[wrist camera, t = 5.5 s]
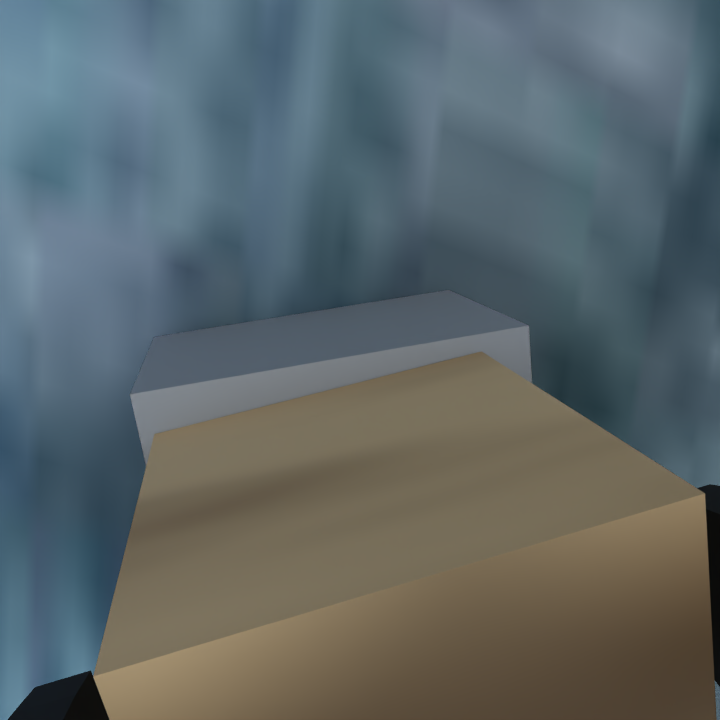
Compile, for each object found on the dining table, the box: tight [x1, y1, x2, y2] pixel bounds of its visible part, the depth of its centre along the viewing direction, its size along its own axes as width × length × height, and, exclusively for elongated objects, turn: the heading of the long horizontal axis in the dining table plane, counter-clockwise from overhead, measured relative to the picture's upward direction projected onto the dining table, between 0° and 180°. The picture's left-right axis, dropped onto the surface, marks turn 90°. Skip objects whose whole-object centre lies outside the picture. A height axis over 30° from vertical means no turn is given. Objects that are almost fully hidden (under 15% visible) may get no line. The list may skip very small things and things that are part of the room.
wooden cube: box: [93, 351, 716, 720], centre depth 8 cm, size 5×5×5 cm
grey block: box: [130, 290, 532, 465], centre depth 13 cm, size 6×6×4 cm
